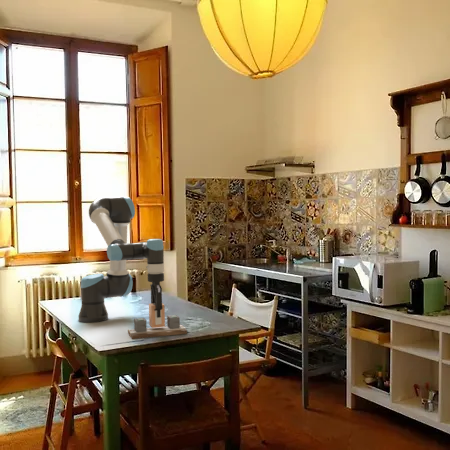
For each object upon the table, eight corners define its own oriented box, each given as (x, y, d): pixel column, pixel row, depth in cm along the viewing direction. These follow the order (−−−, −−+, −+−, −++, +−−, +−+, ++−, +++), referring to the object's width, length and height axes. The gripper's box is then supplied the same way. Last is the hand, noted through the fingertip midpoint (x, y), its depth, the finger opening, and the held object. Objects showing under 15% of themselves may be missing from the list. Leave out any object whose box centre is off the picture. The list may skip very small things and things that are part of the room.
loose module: (149, 325, 246) (148, 303, 246) (162, 323, 248) (161, 301, 248) (151, 327, 240) (151, 305, 240) (164, 326, 242) (164, 304, 242)
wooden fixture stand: (127, 333, 246) (127, 317, 246) (180, 328, 254) (179, 312, 254) (132, 339, 234) (131, 322, 234) (186, 333, 243) (186, 317, 242)
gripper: (143, 270, 251) (145, 319, 252) (151, 275, 233) (153, 327, 234) (159, 270, 253) (160, 318, 254) (168, 274, 236) (169, 326, 236)
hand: (156, 322), depth 244 cm, fingers closed on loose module, 6 cm apart
